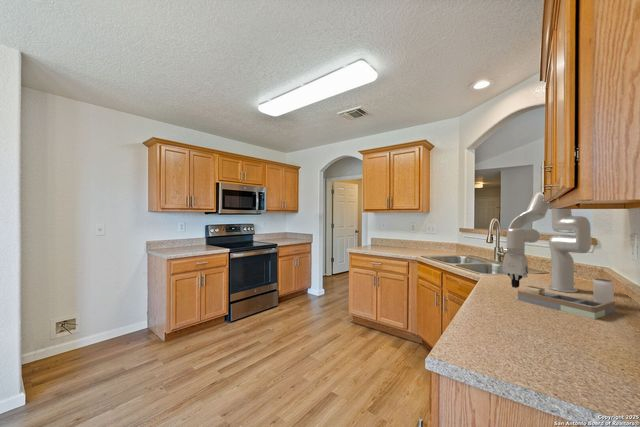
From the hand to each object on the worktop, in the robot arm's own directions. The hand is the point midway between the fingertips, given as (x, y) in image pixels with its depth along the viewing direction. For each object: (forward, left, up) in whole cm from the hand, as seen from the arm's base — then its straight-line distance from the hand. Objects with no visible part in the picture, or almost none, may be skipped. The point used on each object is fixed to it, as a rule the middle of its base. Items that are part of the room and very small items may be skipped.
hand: (515, 287), depth 137 cm
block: (0, +8, -2) cm, 9 cm away
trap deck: (-5, +18, -5) cm, 19 cm away
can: (-23, +26, -5) cm, 35 cm away
